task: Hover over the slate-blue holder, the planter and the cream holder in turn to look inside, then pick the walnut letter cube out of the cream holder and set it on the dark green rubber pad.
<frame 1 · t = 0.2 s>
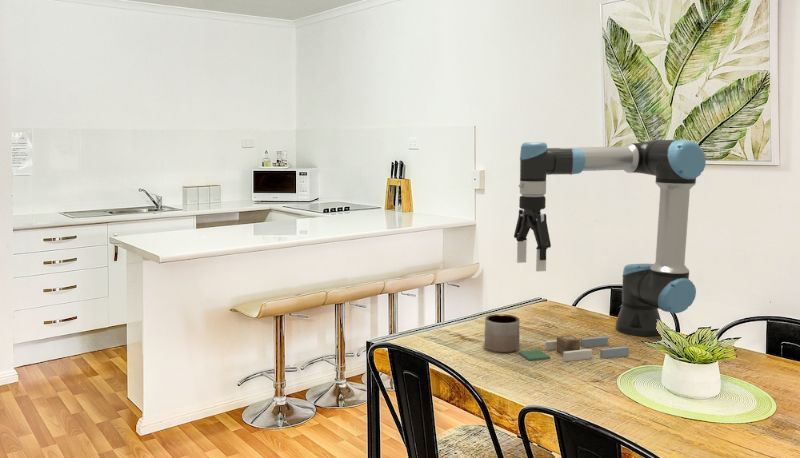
hand: (530, 266, 195), 28 cm above the table, fingers open, 13 cm apart
holder B: (567, 353, 201), on the table
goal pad: (533, 356, 199), on the table
planter: (501, 348, 206), on the table
holder A: (604, 351, 203), on the table
letter cube: (567, 354, 201), on the table
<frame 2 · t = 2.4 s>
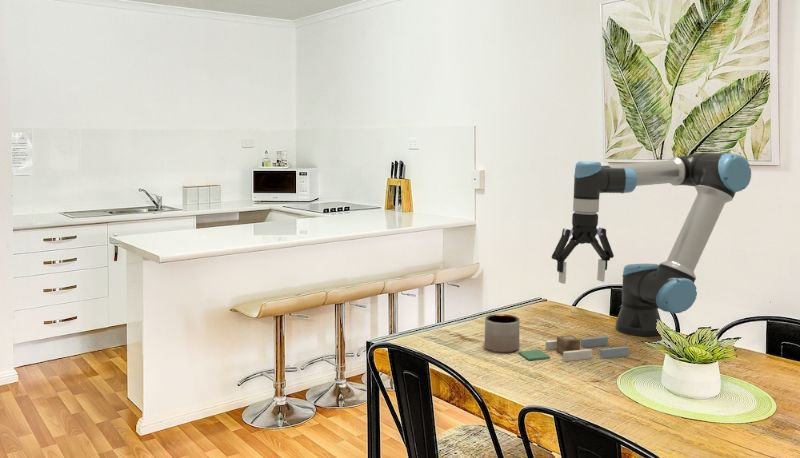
hand: (581, 281, 200), 22 cm above the table, fingers open, 13 cm apart
nothing on the table moved.
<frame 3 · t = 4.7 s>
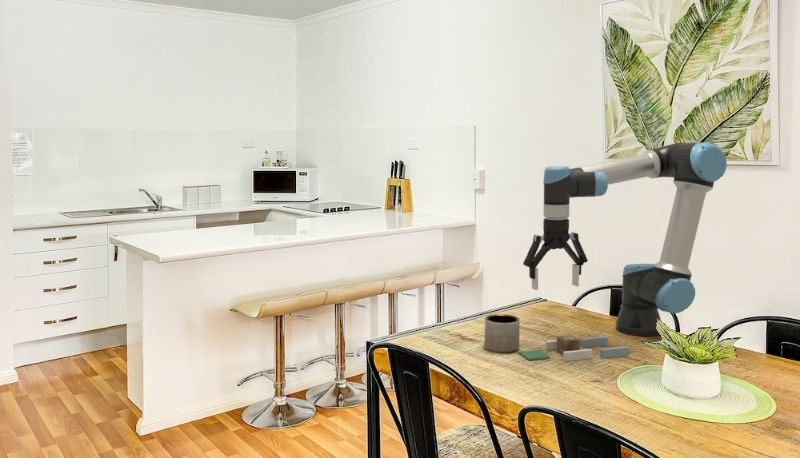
hand: (555, 287, 199), 20 cm above the table, fingers open, 13 cm apart
nothing on the table moved.
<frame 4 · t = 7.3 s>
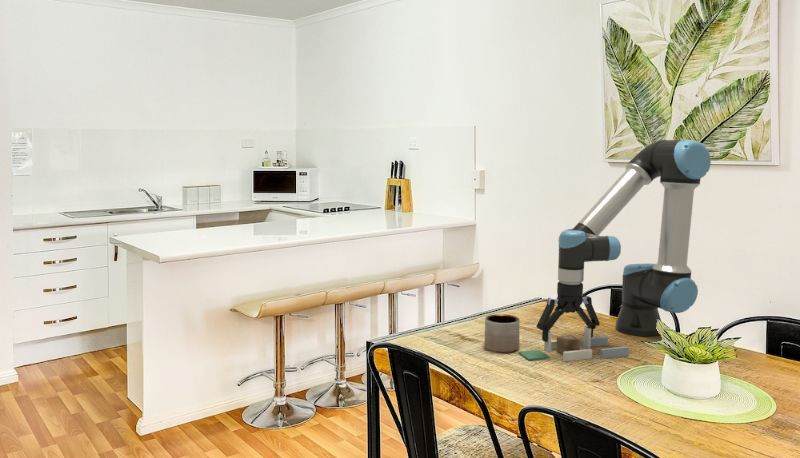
hand: (567, 350, 200), 1 cm above the table, fingers open, 13 cm apart
nothing on the table moved.
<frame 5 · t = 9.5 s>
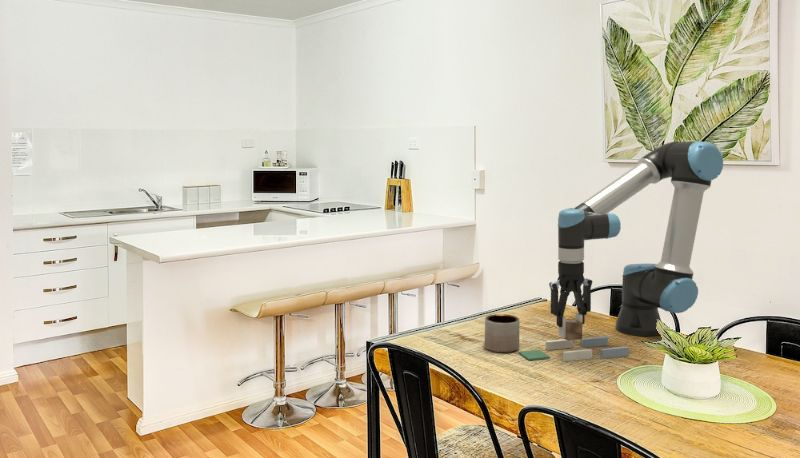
hand: (570, 335, 200), 6 cm above the table, fingers closed on letter cube, 5 cm apart
letter cube: (570, 337, 200), point 5 cm above the table, touching gripper
everything else where it was.
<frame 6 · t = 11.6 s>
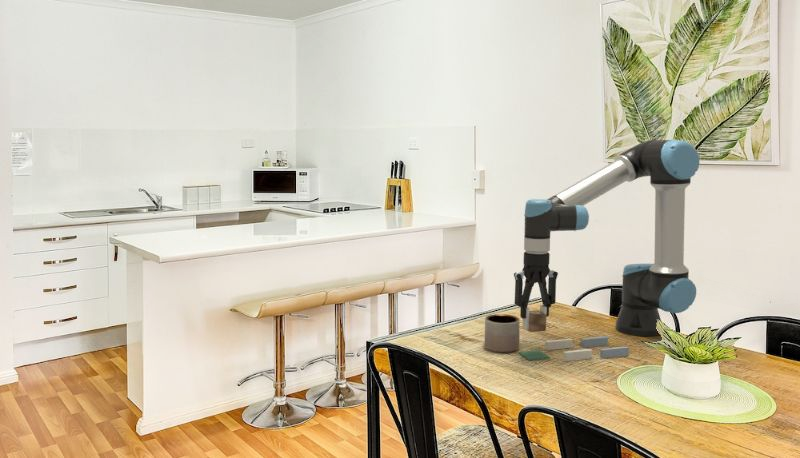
hand: (534, 327, 197), 9 cm above the table, fingers closed on letter cube, 5 cm apart
letter cube: (534, 329, 197), point 8 cm above the table, touching gripper
everything else where it was.
when the fingers open (1 cm above the table, at t = 13.5 s): letter cube stays where it is, resting on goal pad.
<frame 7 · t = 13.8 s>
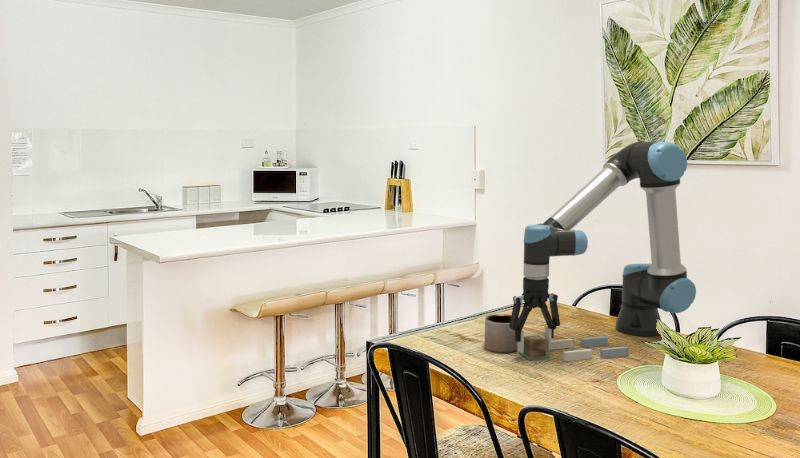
hand: (534, 350, 198), 2 cm above the table, fingers open, 8 cm apart
letter cube: (534, 354, 198), point 1 cm above the table, touching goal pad
everything else where it was.
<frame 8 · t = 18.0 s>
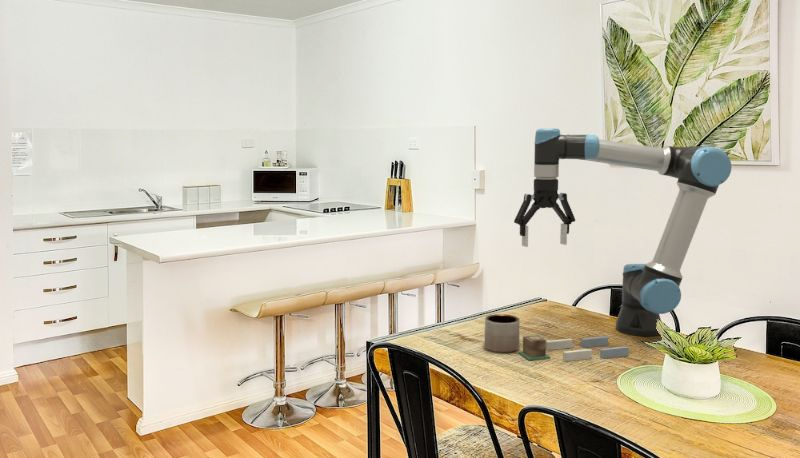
hand: (544, 245, 208), 32 cm above the table, fingers open, 13 cm apart
nothing on the table moved.
at the end: letter cube inside the target area on the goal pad (0.0 cm from its centre), point 0.6 cm above the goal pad's base; letter cube tilted 0°; the gripper is holding nothing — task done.
